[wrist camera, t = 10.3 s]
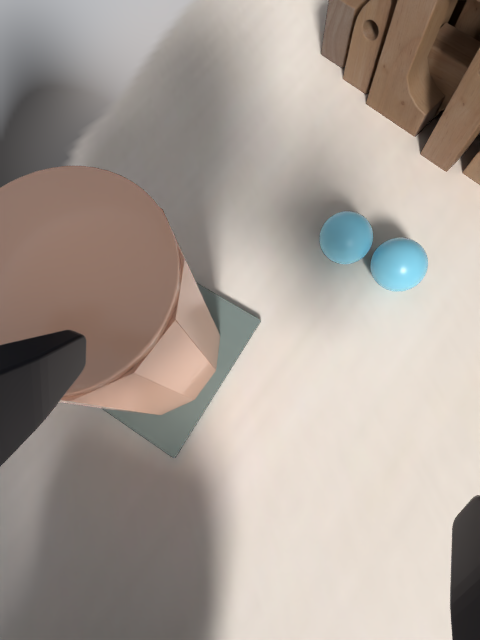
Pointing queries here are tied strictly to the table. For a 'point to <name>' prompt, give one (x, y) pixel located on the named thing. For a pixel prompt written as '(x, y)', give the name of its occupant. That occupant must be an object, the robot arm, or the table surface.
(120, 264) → the salmon pink cylinder
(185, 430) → the mat
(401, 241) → the marble
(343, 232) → the marble
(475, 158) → the wooden puzzle
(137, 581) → the table surface
